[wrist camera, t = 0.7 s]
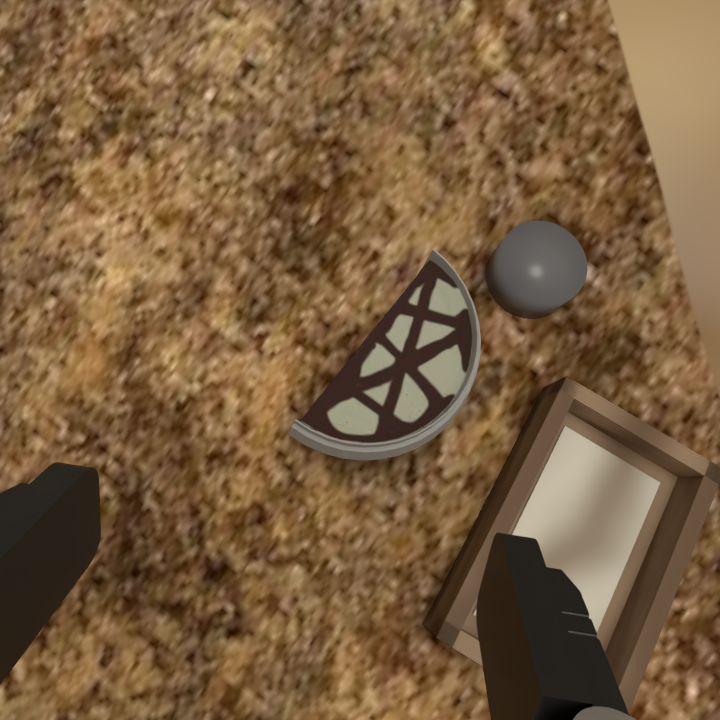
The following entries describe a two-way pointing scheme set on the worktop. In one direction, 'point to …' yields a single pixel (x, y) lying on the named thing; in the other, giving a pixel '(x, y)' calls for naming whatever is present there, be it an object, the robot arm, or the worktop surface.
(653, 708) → the worktop surface
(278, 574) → the worktop surface
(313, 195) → the worktop surface
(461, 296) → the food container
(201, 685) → the worktop surface
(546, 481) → the tray
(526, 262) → the grey domed puck
